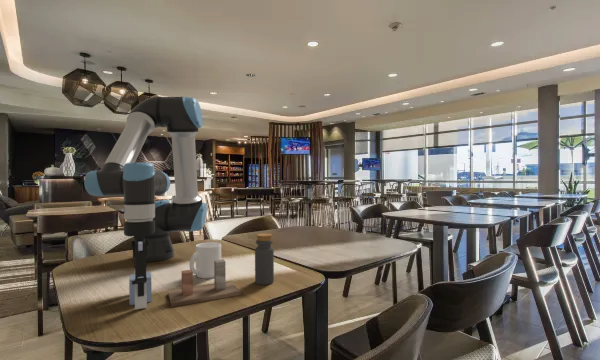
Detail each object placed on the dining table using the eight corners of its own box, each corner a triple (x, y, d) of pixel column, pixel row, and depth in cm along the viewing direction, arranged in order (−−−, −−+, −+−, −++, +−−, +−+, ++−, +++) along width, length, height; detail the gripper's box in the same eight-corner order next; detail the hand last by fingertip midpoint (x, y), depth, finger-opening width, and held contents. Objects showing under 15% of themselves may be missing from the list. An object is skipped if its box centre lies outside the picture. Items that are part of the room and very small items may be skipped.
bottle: (266, 277, 105) (265, 232, 105) (277, 281, 101) (277, 234, 101) (251, 282, 101) (251, 234, 101) (262, 286, 97) (262, 237, 97)
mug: (198, 284, 99) (198, 250, 99) (181, 279, 104) (180, 247, 104) (226, 273, 110) (226, 243, 110) (209, 270, 114) (209, 241, 114)
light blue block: (129, 298, 88) (129, 274, 88) (150, 295, 90) (150, 271, 90) (129, 305, 83) (129, 280, 83) (151, 301, 86) (151, 277, 85)
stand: (168, 294, 91) (167, 262, 91) (230, 284, 99) (230, 255, 99) (171, 307, 82) (171, 272, 82) (240, 294, 90) (240, 262, 90)
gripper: (124, 215, 95) (125, 287, 96) (122, 227, 74) (123, 320, 74) (152, 214, 99) (153, 283, 99) (157, 224, 77) (158, 313, 78)
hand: (140, 299), depth 87 cm, fingers open, 12 cm apart
